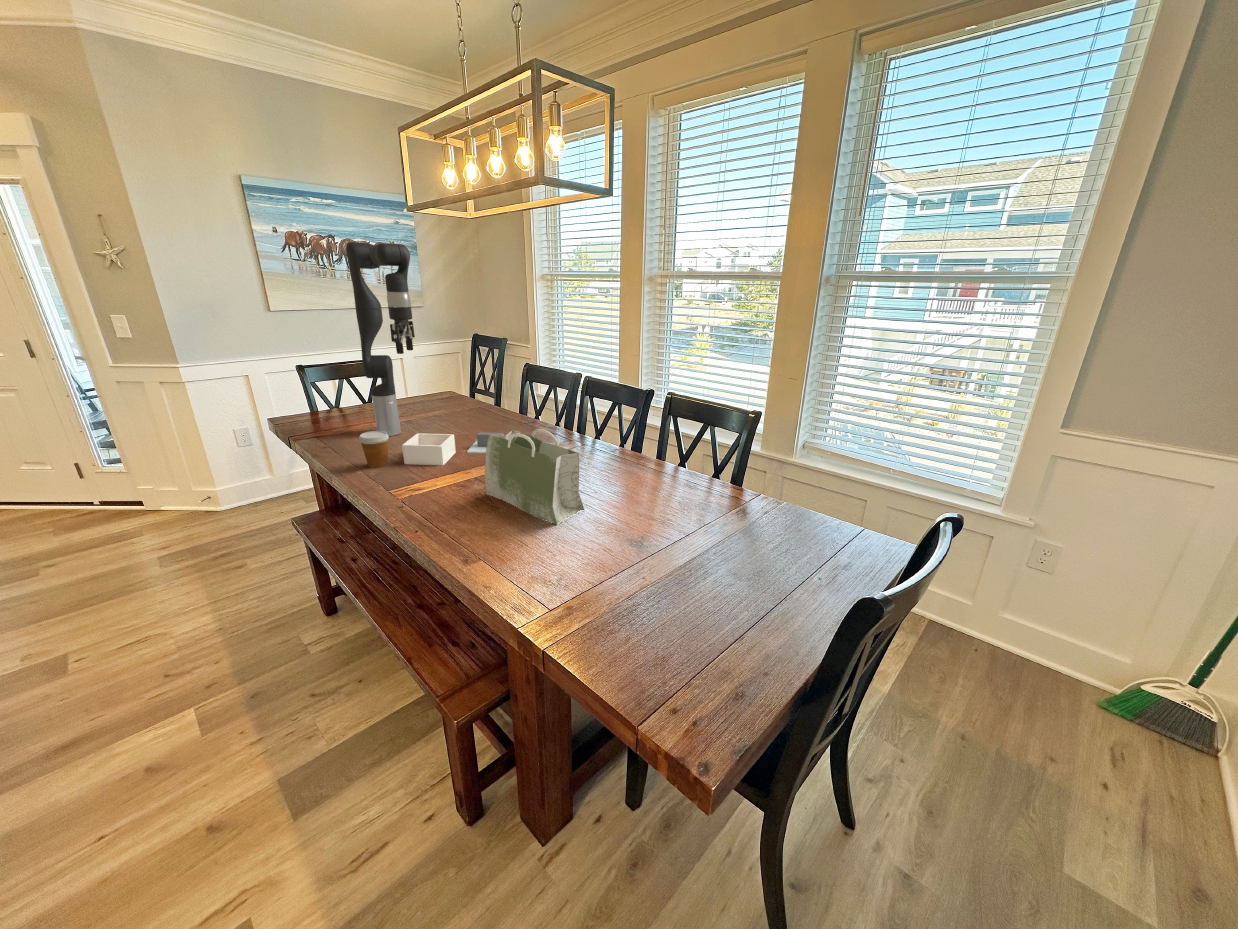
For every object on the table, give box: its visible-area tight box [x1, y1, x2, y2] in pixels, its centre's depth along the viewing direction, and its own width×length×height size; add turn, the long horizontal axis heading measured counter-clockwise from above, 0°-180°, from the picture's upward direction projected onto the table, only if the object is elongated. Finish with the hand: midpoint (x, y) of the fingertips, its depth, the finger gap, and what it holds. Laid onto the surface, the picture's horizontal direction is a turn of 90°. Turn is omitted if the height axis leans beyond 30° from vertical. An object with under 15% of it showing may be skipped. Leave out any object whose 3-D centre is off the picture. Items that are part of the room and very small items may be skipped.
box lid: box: [466, 431, 505, 454], centre depth 194 cm, size 15×15×7 cm
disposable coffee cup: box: [358, 430, 390, 469], centre depth 172 cm, size 10×10×12 cm
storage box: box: [401, 432, 457, 466], centre depth 181 cm, size 14×14×8 cm
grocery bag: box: [484, 428, 585, 525], centre depth 147 cm, size 32×14×23 cm, turn 52°
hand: (405, 351), depth 178 cm, fingers open, 8 cm apart
